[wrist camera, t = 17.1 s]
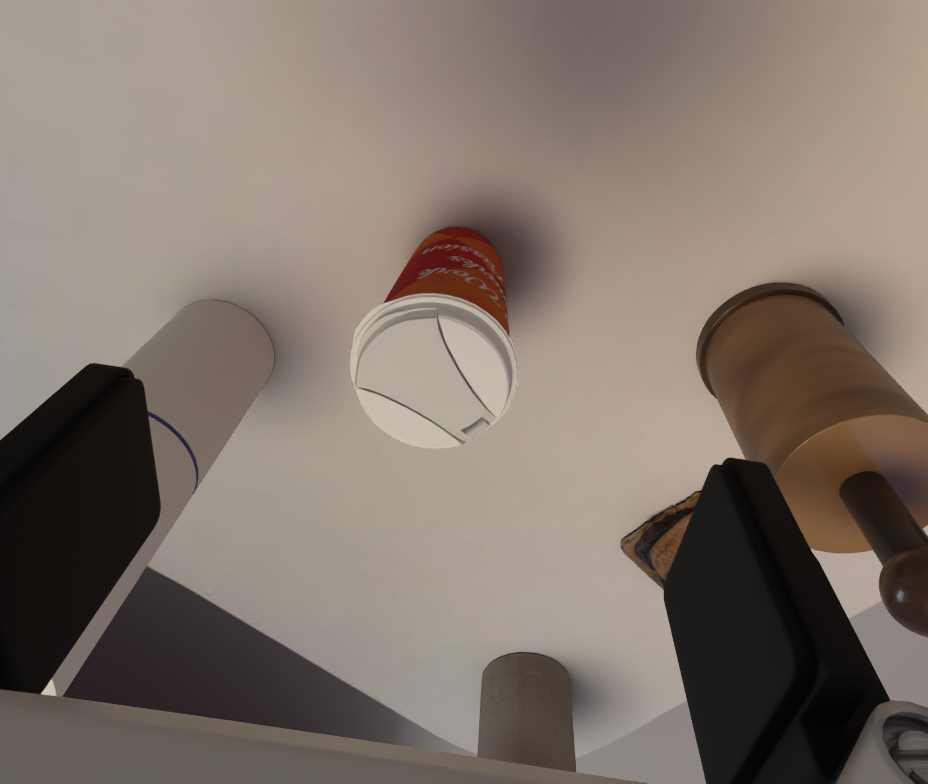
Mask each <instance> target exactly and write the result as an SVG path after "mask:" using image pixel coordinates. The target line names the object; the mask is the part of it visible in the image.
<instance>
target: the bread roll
mask: <svg viewBox="0 0 928 784" xmlns="http://www.w3.org/2000/svg"><path fill="white" fill-rule="evenodd" d="M699 496H700V493H695V494H693V495H692V497H691V498H688V499H687V501H686V503H681V504H680V505H679V506H678V505H677V506H676V507H675V508H673V506H672V507H671V508H672V510H670V511H668V510H669V509H667V510H666V511H665V513H662V514H660V515H658V516H656V518H655V519H653V520H652V521H651V522H648V523H647V524H645V525H643V527H642V528H640V529H638V530H637V531H636V532H634V533H633V534H632V535H629V536H628V537H626V538H625V539H623V541H621V549H622V550H623V552H624V553H625V554H626V555H627V556H628V557H629V558H630V559H631V560H632V561H633V562H635V563H636V565H637V566H638V567H640V568H641V569H642V570H643V571H644V572H645V573H646V574H647V575H648V576H649V577H650V578H651V579H652V580H654V581H655V582H656V583H657V584H658V585H659V586H660V587H661V588H662V589H663V590H664V585H665V580H666V577H667V575H668V572H669V570H670V567H671V565H672V562H673V560H674V558H675V555H676V553H677V550H678V548H679V545H680V543H681V540H682V538H683V535H684V533H685V530H686V528H687V525H688V523H689V520H690V518H691V515H692V513H693V510H694V508H695V506H696V503H697V501H698V498H699Z"/></svg>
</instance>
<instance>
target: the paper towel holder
mask: <svg viewBox="0 0 928 784" xmlns="http://www.w3.org/2000/svg"><path fill="white" fill-rule="evenodd" d="M696 360H697V366H698V370H699V372H700V375H701V377H702V380H703V382H704V384H705V385H706V387H707V389H708V390H709V391H710V392H711V394H712V395H713V396H714V397H715V398H717V400H718V402H719V404H720V406H721V408H722V410H723V412H724V415H725V417H726V419H727V421H728V423H729V425H730V427H731V429H732V431H733V434H734V436H735V438H736V440H737V442H738V444H739V446H740V448H741V451H742V453H743V455H744V457H745V459H746V460H750V461H756V462H763V463H765V464H766V465H767V466H768V467H769V469H770V471H771V473H772V475H773V477H774V479H775V481H776V483H777V485H778V487H779V489H780V491H781V493H782V494H783V496H784V498H785V500H786V502H787V504H788V506H789V508H790V510H791V512H792V514H793V516H794V518H795V520H796V522H797V524H798V526H799V528H800V530H801V532H802V533H803V535H804V537H805V539H806V541H807V543H808V545H809V547H810V548H812V549H815V550H819V551H824V552H831V553H857V552H865V551H870V550H873V551H874V552H875V554H876V556H877V557H878V559H879V561H880V562H881V564H882V565H883V568H882V571H881V573H880V578H879V591H880V595H881V598H882V601H883V603H884V605H885V607H886V609H887V610H888V611H889V613H890V614H891V615H892V616H893V618H894V619H895V620H897V621H898V622H899V623H900V624H901V625H902V626H904V627H906V628H907V629H909V630H911V631H912V632H914V633H917V634H919V635H922V636H925V637H928V536H927V535H926V533H925V532H924V530H923V529H922V528H924V527H925V526H927V525H928V415H927V414H926V412H925V411H924V410H923V409H922V408H921V407H920V406H919V405H918V404H917V403H916V402H915V401H914V400H913V399H912V398H911V397H910V396H909V395H908V393H907V392H906V391H905V390H904V389H903V388H902V387H901V386H900V385H899V384H898V383H897V382H896V381H895V380H894V379H893V378H892V377H891V376H890V374H889V373H888V372H887V371H886V370H885V369H884V368H883V367H882V366H881V365H880V364H879V363H878V362H877V361H876V360H875V359H874V358H873V357H872V355H871V354H870V353H869V352H868V351H867V350H866V349H865V348H864V347H863V346H862V345H861V344H860V343H859V342H858V341H857V340H856V339H855V338H854V336H853V335H852V334H851V333H850V332H849V331H848V330H847V329H846V328H845V327H844V323H843V321H842V319H841V316H840V315H839V313H838V312H837V310H836V309H835V308H834V307H833V306H832V305H831V304H830V303H829V302H828V301H827V300H826V299H825V298H824V297H823V296H821V295H820V294H819V293H817V292H815V291H813V290H812V289H809V288H807V287H804V286H800V285H796V284H788V283H773V284H767V285H762V286H758V287H754V288H751V289H749V290H746V291H744V292H742V293H740V294H738V295H736V296H734V297H733V298H731V299H730V300H728V301H727V302H726V303H724V304H723V305H722V306H721V307H720V308H719V309H718V310H717V311H716V312H715V313H714V314H713V315H712V316H711V318H710V319H709V320H708V321H707V323H706V325H705V326H704V328H703V330H702V332H701V335H700V337H699V341H698V344H697V351H696Z"/></svg>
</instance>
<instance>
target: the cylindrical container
mask: <svg viewBox="0 0 928 784" xmlns="http://www.w3.org/2000/svg"><path fill="white" fill-rule="evenodd" d="M273 366H274V349H273V345H272V342H271V340H270V337H269V335H268V334H267V332H266V330H265V329H264V327H263V326H262V325H261V324H260V323H259V322H258V321H257V320H256V319H255V318H254V317H253V316H252V315H251V314H249V313H248V312H247V311H245V310H243V309H241V308H240V307H238V306H236V305H233V304H230V303H227V302H223V301H217V300H204V301H199V302H195V303H192V304H190V305H188V306H186V307H185V308H183V309H182V310H181V311H180V312H179V313H178V314H176V315H175V316H174V317H173V318H172V319H171V320H170V321H169V322H168V323H167V324H166V325H165V326H164V327H163V328H162V329H161V330H160V331H158V332H157V333H156V334H155V335H154V336H153V337H152V338H151V339H150V340H149V341H148V342H147V343H146V344H145V345H144V346H143V347H142V348H140V349H139V350H138V351H137V352H136V353H135V354H134V355H133V356H132V357H131V358H130V359H129V360H128V361H127V362H126V363H125V364H124V365H123V366H121V367H123V368H128V369H130V370H131V371H132V373H133V374H134V377H135V378H137V379H140V380H141V381H142V382H143V385H144V389H145V396H146V403H147V410H148V417H149V424H150V431H151V438H152V445H153V452H154V459H155V466H156V473H157V480H158V487H159V494H160V501H161V511H160V516H159V519H158V522H157V524H156V526H155V528H154V529H153V531H152V532H151V533H150V535H149V536H148V538H147V539H146V541H145V542H144V544H143V545H142V547H141V548H140V550H139V551H138V553H137V554H136V555H135V557H134V558H133V560H132V561H131V563H130V564H129V566H128V567H127V569H126V570H125V572H124V573H123V575H122V576H121V577H120V579H119V580H118V582H117V583H116V585H115V586H114V588H113V589H112V591H111V592H110V594H109V595H108V597H107V598H106V600H105V601H104V602H103V604H102V605H101V607H100V608H99V610H98V611H97V613H96V614H95V616H94V617H93V619H92V620H91V622H90V623H89V624H88V626H87V627H86V629H85V630H84V632H83V633H82V635H81V636H80V638H79V639H78V641H77V642H76V644H75V645H74V646H73V648H72V649H71V651H70V652H69V654H68V655H67V657H66V658H65V660H64V661H63V663H62V664H61V666H60V667H59V668H58V670H57V671H56V673H55V674H54V676H53V677H52V679H51V680H50V682H49V683H48V685H47V686H46V688H45V689H44V691H43V692H42V693H41V694H42V695H50V696H58V697H62V696H63V694H64V693H65V691H66V689H67V688H68V686H69V685H70V683H71V682H72V680H73V679H74V677H75V676H76V674H77V672H78V671H79V669H80V668H81V666H82V665H83V663H84V662H85V660H86V659H87V657H88V656H89V654H90V652H91V651H92V649H93V648H94V646H95V645H96V643H97V641H98V640H99V638H100V637H101V635H102V634H103V632H104V631H105V629H106V628H107V626H108V625H109V623H110V622H111V620H112V618H113V617H114V615H115V614H116V612H117V611H118V609H119V608H120V606H121V605H122V603H123V602H124V600H125V598H126V597H127V595H128V594H129V592H130V591H131V589H132V588H133V586H134V585H135V583H136V582H137V580H138V578H139V577H140V575H141V574H142V572H143V571H144V569H145V568H146V566H147V565H148V563H149V561H150V560H151V558H152V557H153V555H154V554H155V552H156V551H157V549H158V548H159V546H160V545H161V543H162V541H163V540H164V538H165V537H166V535H167V534H168V532H169V531H170V529H171V528H172V526H173V524H174V523H175V521H176V520H177V518H178V517H179V515H180V514H181V512H182V511H183V509H184V507H185V506H186V504H187V503H188V501H189V500H190V498H191V497H192V495H193V494H194V492H195V491H196V489H197V487H198V486H199V484H200V483H201V481H202V480H203V478H204V477H205V475H206V474H207V472H208V471H209V469H210V467H211V466H212V464H213V463H214V461H215V460H216V458H217V457H218V455H219V454H220V452H221V451H222V449H223V447H224V446H225V444H226V443H227V441H228V440H229V438H230V437H231V435H232V434H233V432H234V430H235V429H236V427H237V426H238V424H239V423H240V421H241V420H242V418H243V417H244V415H245V413H246V412H247V410H248V409H249V407H250V406H251V404H252V403H253V401H254V400H255V398H256V397H257V395H258V393H259V392H260V390H261V389H262V387H263V386H264V384H265V383H266V381H267V380H268V378H269V376H270V374H271V372H272V370H273Z"/></svg>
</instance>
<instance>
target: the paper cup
mask: <svg viewBox="0 0 928 784" xmlns="http://www.w3.org/2000/svg"><path fill="white" fill-rule="evenodd" d="M350 371H351V377H352V381H353V384H354V387H355V390H356V392H357V395H358V398H359V401H360V403H361V405H362V407H363V409H364V411H365V412H366V413H367V415H368V416H369V417H370V419H371V420H372V421H373V422H374V423H375V424H376V425H377V426H378V427H379V428H380V429H381V430H383V431H384V432H385V433H387V434H388V435H390V436H392V437H393V438H395V439H397V440H399V441H401V442H404V443H406V444H409V445H413V446H416V447H421V448H429V449H444V448H452V447H456V446H460V445H463V444H464V443H465V441H466V440H468V439H469V438H471V439H473V438H474V437H475V436H477V435H478V434H480V433H482V432H483V431H485V430H486V429H488V428H490V427H491V426H492V425H494V424H495V423H496V422H497V421H498V420H499V419H500V418H501V417H502V416H503V415H504V414H505V412H506V411H507V410H508V408H509V407H510V405H511V403H512V401H513V399H514V397H515V394H516V391H517V388H518V382H519V363H518V357H517V353H516V350H515V348H514V345H513V342H512V341H511V339H510V337H509V325H508V314H507V304H506V293H505V284H504V276H503V269H502V264H501V261H500V258H499V255H498V253H497V251H496V250H495V248H494V247H493V245H492V244H491V243H490V242H489V241H488V240H487V239H486V238H485V237H483V236H482V235H480V234H479V233H477V232H475V231H472V230H469V229H465V228H447V229H443V230H440V231H437V232H435V233H433V234H432V235H430V236H429V237H427V238H426V239H425V240H424V241H423V242H422V243H421V245H420V246H419V247H418V248H417V250H416V251H415V253H414V254H413V256H412V257H411V259H410V260H409V262H408V263H407V265H406V267H405V268H404V270H403V272H402V273H401V275H400V276H399V278H398V280H397V281H396V283H395V285H394V286H393V288H392V290H391V291H390V293H389V295H388V296H387V298H386V300H385V301H384V303H381V304H379V305H378V306H377V307H375V308H374V309H373V310H371V311H370V312H369V313H368V314H367V315H366V316H365V317H364V319H363V320H362V321H361V322H360V324H359V325H358V327H357V329H356V330H355V333H354V339H353V345H352V350H351V355H350Z"/></svg>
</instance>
